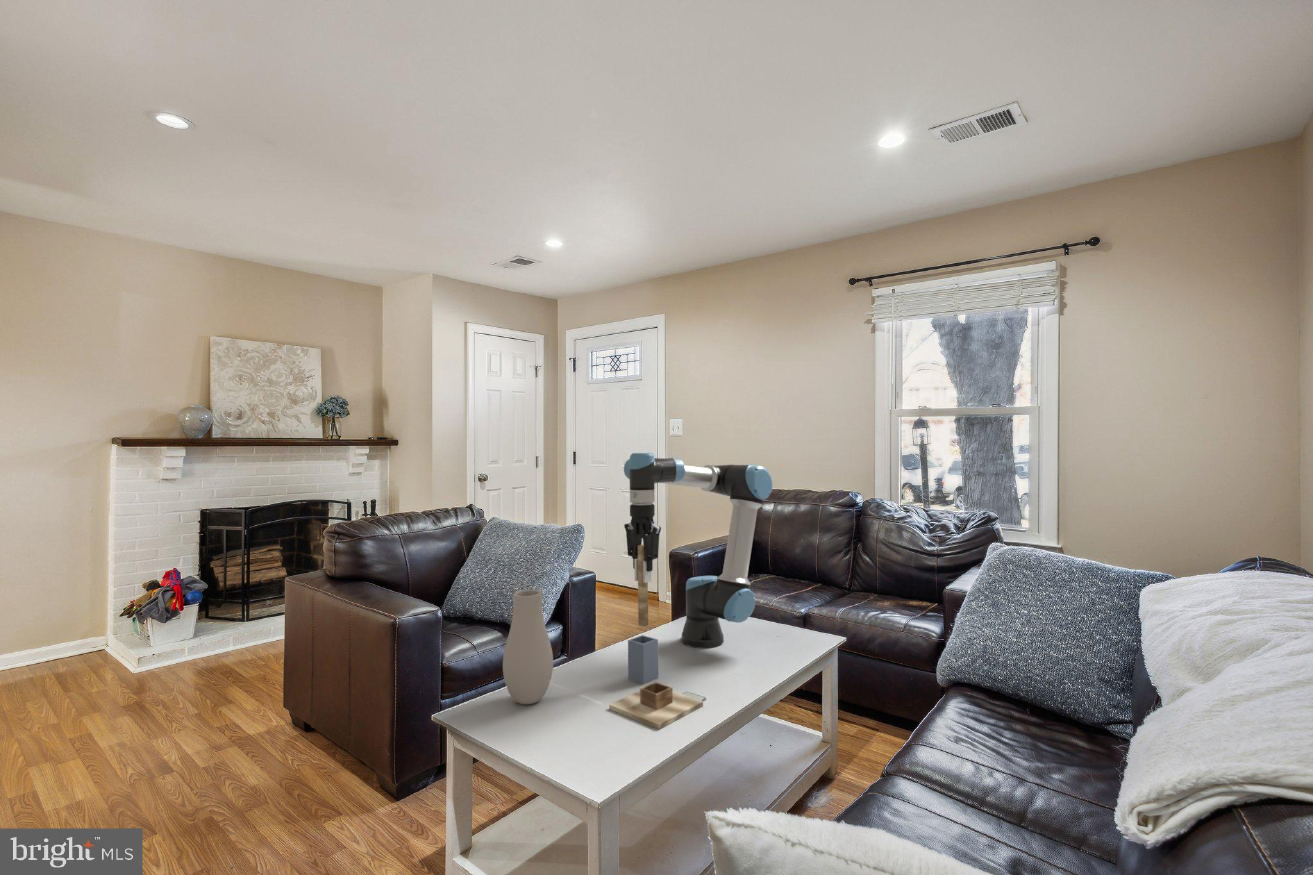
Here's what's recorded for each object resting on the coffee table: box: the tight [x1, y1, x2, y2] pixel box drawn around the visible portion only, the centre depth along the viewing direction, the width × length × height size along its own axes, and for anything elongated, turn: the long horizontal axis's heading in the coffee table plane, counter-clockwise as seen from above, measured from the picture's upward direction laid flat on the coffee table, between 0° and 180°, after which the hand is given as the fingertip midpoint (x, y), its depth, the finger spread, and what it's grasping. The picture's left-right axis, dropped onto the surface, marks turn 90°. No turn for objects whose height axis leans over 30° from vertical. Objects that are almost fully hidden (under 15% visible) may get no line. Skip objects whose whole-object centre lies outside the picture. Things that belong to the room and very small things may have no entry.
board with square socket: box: [608, 681, 704, 730], centre depth 165 cm, size 18×18×5 cm
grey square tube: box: [627, 634, 659, 685], centre depth 185 cm, size 6×6×12 cm
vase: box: [502, 589, 554, 705], centre depth 170 cm, size 14×14×30 cm
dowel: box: [637, 544, 649, 627], centre depth 185 cm, size 3×3×24 cm
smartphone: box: [681, 691, 707, 702], centre depth 167 cm, size 7×1×15 cm
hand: (642, 580), depth 185 cm, fingers closed on dowel, 3 cm apart
